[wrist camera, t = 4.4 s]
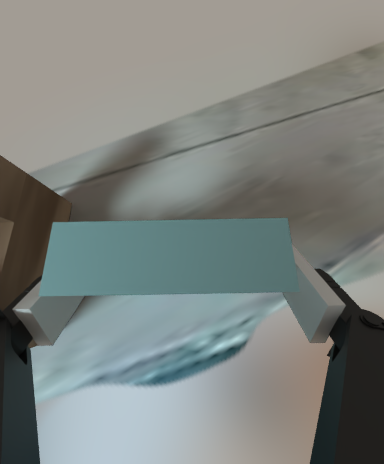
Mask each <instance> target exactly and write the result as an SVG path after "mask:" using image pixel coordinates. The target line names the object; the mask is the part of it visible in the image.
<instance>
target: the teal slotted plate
mask: <svg viewBox="0 0 384 464" xmlns="http://www.w3.org/2000/svg"><path fill="white" fill-rule="evenodd" d="M264 292H300V290H299V284H298V278H297V272H296V266H295V260H294V254H293V248H292V242H291V236H290V230H289V224H288V218H252V219H199V220H147V221H94V222H53V224H52V230H51V235H50V240H49V245H48V250H47V255H46V260H45V265H44V270H43V275H42V280H41V285H40V291H39V296H94V295H151V294H207V293H264Z"/></svg>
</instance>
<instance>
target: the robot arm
mask: <svg viewBox="0 0 384 464" xmlns="http://www.w3.org/2000/svg"><path fill="white" fill-rule="evenodd" d="M292 248H293V254H294V260H295V266H296V272H297V278H298V284H299V290H300V292H282V293H283V295H284V297H285V298H286V300H287V302H288V304H289V306H290V308H291V309H292V311H293V313H294V315H295V316H296V318H297V320H298V322H299V324H300V326H301V327H302V329H303V331H304V333H305V335H306V336H307V338H308V340H309V342H310V343H325V342H326V340H327V338H328V337H329V335H330V337H331V338H332V340H333V341H334V344H333V346H332V348H331V349H330V351H329V353H328V354H327V356H329V357H330V360H329V365H328V371H327V376H326V381H325V386H324V392H323V397H322V402H321V408H320V413H319V418H318V423H317V429H316V434H315V439H314V444H313V449H312V455H311V460H310V464H384V320H383V319H382V318H381V317H379V316H378V315H376V314H374V313H372V312H370V311H367V310H364V309H361V308H360V307H359V306H358V305H357V304H356V303H355V302H354V301H353V300H352V299H351V298H350V297H349V295H348V294H346V292H345V291H344V290H343V289H342V288H340V286H339V285H338V284H337V283H336V282H335V281H334V280H333V278H332V277H331V276H330V275H329V274H327V273H326V272H324V271H323V270H321V269H314V268H313V267H312V266H311V265H310V264H309V263H308V261H307V260H306V259H305V258H304V257H303V256H302V255H301V253H300V252H299V251H298V250H297V249H296V248H295V247H294V245H293V244H292ZM41 280H42V275H41V276H40V277H38V278H37V279H35V280H34V281H33V282H32V283H31V284H30V285H29V287H27V288H26V289H25V290H24V291H23V293H21V294H20V295H19V296H18V297H17V298H16V299H15V300H14V301H13V302H12V303H11V304H10V305H9V306H7V307H6V308H5V309H4V310H3V311H2V310H1V309H0V464H40V458H39V445H38V433H37V421H36V409H35V398H34V386H33V374H32V362H31V350H30V348H29V346H28V345H29V343H30V342H31V341H32V339H34V341H35V342H36V344H37V345H38V346H53V344H54V343H55V341H56V340H57V338H58V337H59V335H60V334H61V332H62V330H63V329H64V327H65V326H66V324H67V323H68V321H69V320H70V318H71V316H72V315H73V313H74V312H75V310H76V309H77V307H78V305H79V304H80V302H81V301H82V299H83V298H84V296H39V291H40V285H41Z"/></svg>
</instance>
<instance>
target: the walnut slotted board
mask: <svg viewBox="0 0 384 464" xmlns="http://www.w3.org/2000/svg"><path fill="white" fill-rule="evenodd" d="M71 206H72V203H70V202H69V201H67V200H66V199H64V198H63V197H61V196H60V195H58V194H57V193H55V192H54V191H52V190H51V189H49V188H48V187H46V186H45V185H43V184H42V183H41V182H39V181H38V180H36V179H35V178H33V177H32V176H30V175H29V174H27V173H26V172H24V171H23V170H21V169H20V168H18V167H17V166H15V165H14V164H12V163H11V162H9V161H8V160H6V159H5V158H3V157H2V156H0V309H1V310H2V311H3V310H4V309H5V308H6V307H7V306H9V305H10V304H11V303H12V302H13V301H14V300H15V299H16V298H17V297H18V296H19V295H20V294H21V293H23V291H24V290H25V289H26V288H27V287H29V285H30V284H31V283H32V282H33V281H34V280H35V279H37V278H38V277H40V276H41V275H43V270H44V265H45V260H46V255H47V250H48V245H49V240H50V235H51V230H52V224H53V222H69V217H70V212H71ZM28 346H29V348H32V347H35V346H37V344H36V342H35V341H34V339H32V341H31V342H30V343H29V345H28Z"/></svg>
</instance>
